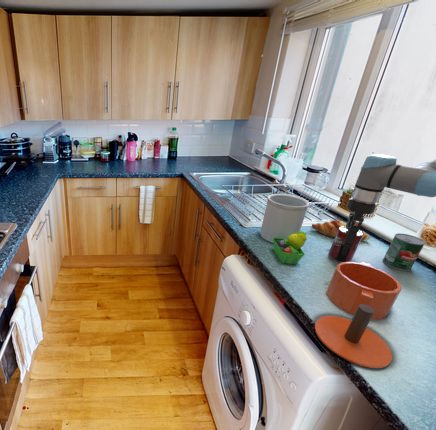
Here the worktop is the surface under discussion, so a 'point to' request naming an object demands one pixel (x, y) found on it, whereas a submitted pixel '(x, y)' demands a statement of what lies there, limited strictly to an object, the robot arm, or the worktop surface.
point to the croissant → (334, 228)
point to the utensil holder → (283, 216)
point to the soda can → (340, 239)
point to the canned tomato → (403, 251)
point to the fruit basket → (290, 247)
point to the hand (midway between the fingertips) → (340, 255)
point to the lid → (354, 339)
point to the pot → (363, 288)
